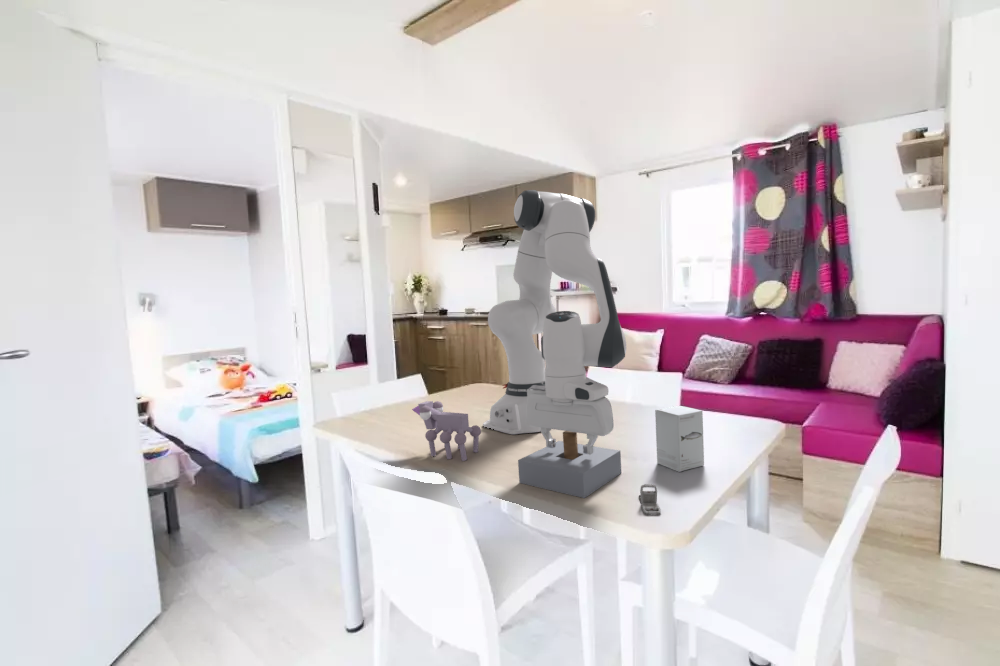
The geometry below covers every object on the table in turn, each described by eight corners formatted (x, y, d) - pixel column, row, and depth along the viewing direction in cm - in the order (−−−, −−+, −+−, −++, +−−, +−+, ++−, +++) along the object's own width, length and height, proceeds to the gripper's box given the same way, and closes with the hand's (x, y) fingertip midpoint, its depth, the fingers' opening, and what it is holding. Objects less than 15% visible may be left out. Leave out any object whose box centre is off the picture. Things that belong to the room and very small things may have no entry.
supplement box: (679, 473, 108) (677, 415, 107) (656, 463, 115) (653, 409, 114) (705, 466, 111) (703, 410, 110) (681, 457, 118) (679, 404, 117)
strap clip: (661, 517, 89) (661, 493, 88) (644, 517, 89) (643, 493, 89) (653, 497, 97) (653, 476, 97) (637, 497, 97) (637, 476, 97)
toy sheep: (401, 454, 134) (398, 404, 133) (426, 445, 143) (424, 397, 143) (462, 463, 124) (460, 408, 123) (485, 452, 133) (483, 401, 132)
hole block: (519, 482, 108) (517, 460, 108) (559, 461, 120) (558, 440, 120) (584, 498, 98) (582, 473, 98) (621, 472, 110) (620, 450, 110)
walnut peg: (563, 478, 109) (560, 433, 108) (570, 474, 111) (567, 430, 111) (575, 480, 107) (572, 434, 107) (582, 476, 109) (579, 431, 109)
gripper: (518, 386, 112) (522, 447, 113) (600, 393, 99) (604, 461, 100) (535, 381, 117) (538, 440, 118) (615, 387, 104) (618, 453, 105)
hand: (569, 450), depth 109 cm, fingers open, 8 cm apart
